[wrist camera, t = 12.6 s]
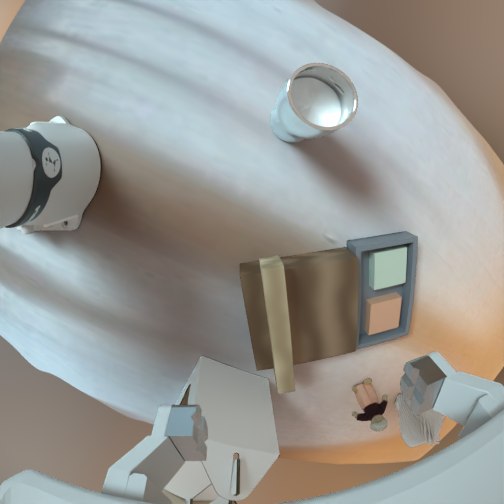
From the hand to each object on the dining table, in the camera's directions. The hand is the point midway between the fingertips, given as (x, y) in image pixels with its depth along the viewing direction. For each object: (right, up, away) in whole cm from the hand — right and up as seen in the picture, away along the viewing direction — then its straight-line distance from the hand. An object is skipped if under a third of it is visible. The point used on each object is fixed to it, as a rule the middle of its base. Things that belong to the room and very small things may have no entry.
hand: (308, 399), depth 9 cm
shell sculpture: (+34, -29, +43) cm, 62 cm away
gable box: (-10, -24, +40) cm, 47 cm away
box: (+19, 0, +34) cm, 39 cm away
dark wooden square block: (+5, -3, +34) cm, 34 cm away
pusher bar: (+1, -5, +29) cm, 29 cm away
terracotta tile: (+20, -5, +32) cm, 38 cm away
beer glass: (+3, +23, +26) cm, 35 cm away
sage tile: (+19, +3, +30) cm, 36 cm away
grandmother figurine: (+20, -22, +41) cm, 51 cm away
